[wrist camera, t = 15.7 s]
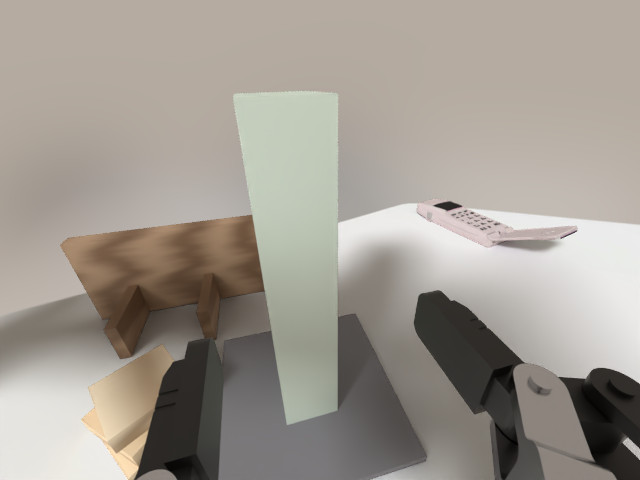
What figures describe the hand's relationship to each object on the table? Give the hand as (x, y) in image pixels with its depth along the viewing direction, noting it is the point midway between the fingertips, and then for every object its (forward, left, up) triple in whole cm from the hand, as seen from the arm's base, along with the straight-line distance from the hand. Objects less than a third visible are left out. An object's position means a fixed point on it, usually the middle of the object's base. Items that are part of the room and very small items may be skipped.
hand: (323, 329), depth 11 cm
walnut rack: (-10, +19, -15) cm, 26 cm away
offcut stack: (-12, +8, -15) cm, 21 cm away
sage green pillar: (0, +7, -14) cm, 16 cm away
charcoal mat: (0, +7, -15) cm, 16 cm away
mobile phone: (+33, +27, -15) cm, 45 cm away
